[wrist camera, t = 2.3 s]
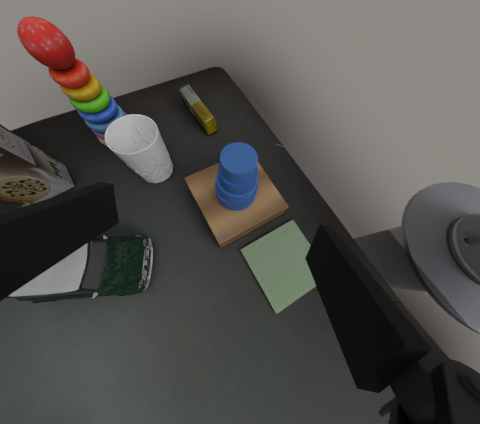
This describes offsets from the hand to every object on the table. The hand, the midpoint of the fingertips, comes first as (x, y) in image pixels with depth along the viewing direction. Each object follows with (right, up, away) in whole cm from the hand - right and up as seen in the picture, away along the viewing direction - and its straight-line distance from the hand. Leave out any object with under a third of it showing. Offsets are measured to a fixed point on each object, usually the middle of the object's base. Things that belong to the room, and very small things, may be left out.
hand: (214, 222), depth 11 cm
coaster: (+10, -9, +20) cm, 24 cm away
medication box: (-8, +23, +30) cm, 39 cm away
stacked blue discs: (+1, +4, +20) cm, 20 cm away
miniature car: (-22, -9, +18) cm, 30 cm away
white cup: (-16, +10, +25) cm, 31 cm away
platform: (+1, +3, +24) cm, 24 cm away
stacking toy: (-25, +18, +27) cm, 41 cm away
